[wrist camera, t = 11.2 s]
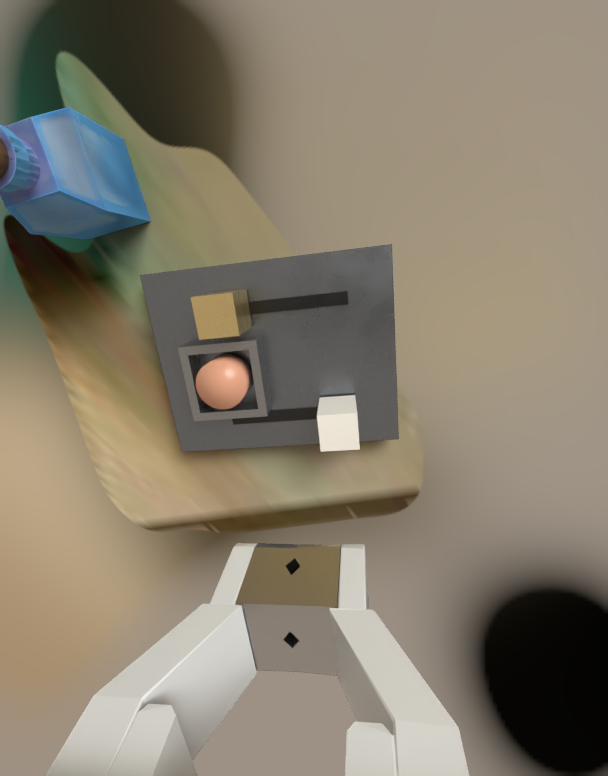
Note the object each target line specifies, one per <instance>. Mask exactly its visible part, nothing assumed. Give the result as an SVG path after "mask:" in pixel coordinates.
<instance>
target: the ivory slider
mask: <svg viewBox="0 0 608 776" xmlns="http://www.w3.org/2000/svg"><path fill="white" fill-rule="evenodd" d="M317 422H318V431H319V441H320V450H321V452H323V451H341V450H359V449H360V445H359V431H358V417H357V407H356V399H355V395H348V396H335V397H321V398H319V405H318V411H317Z"/></svg>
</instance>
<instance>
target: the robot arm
mask: <svg viewBox="0 0 608 776" xmlns="http://www.w3.org/2000/svg"><path fill="white" fill-rule="evenodd" d="M256 670H259V671H290V672H305V673H315V674H324V675H334V676H338V679H339V681H340V683H341V686H342V688H343V690H344V692H345V694H346V697H347V699H348V701H349V703H350V706H351V708H352V710H353V712H354V715H355V717H356V719H357V721H358V722H354V723H353V724H352V726H351V727H350V728H349V729H348V730H347V742H346V773H345V776H469V773H468V768H467V764H466V759H465V754H464V750H463V745H462V741H461V736H460V731H459V728H458V726H457V725H456V724H455V722H454V721H453V719H452V718H451V717H450V715H449V714H448V712H447V711H446V710H445V708H444V707H443V705H442V704H441V703H440V701H439V700H438V699H437V697H436V696H435V694H434V693H433V692H432V690H431V689H430V687H429V686H428V685H427V683H426V682H425V681H424V679H423V678H422V676H421V675H420V673H419V672H418V671H417V669H416V668H415V666H414V665H413V664H412V662H411V661H410V660H409V658H408V657H407V655H406V654H405V653H404V651H403V650H402V649H401V647H400V646H399V644H398V643H397V642H396V640H395V639H394V637H393V636H392V634H391V633H390V632H389V630H388V629H387V627H386V626H385V625H384V624H383V622H382V621H381V619H380V618H379V616H378V615H377V614H376V612H375V611H374V610H369V597H368V583H367V570H366V556H365V547H364V544H342V545H341V544H336V545H335V544H334V545H333V544H330V545H329V544H326V545H325V544H323V545H321V544H319V545H318V544H317V545H314V544H312V545H311V544H305V545H293V544H264V543H263V544H262V543H258V544H247V543H237V544H236V545H235V546H234V547H233V549H232V551H231V554H230V556H229V558H228V561H227V563H226V565H225V568H224V570H223V572H222V575H221V577H220V579H219V582H218V584H217V586H216V589H215V591H214V594H213V596H212V598H211V600H210V603H209V604H202V605H200V606H199V607H198V608H197V609H196V610H195V611H193V612H192V613H191V614H190V615H189V616H187V617H186V618H185V619H184V620H183V621H181V622H180V623H179V624H178V625H177V626H176V627H174V628H173V629H172V630H171V631H170V632H168V633H167V634H166V635H165V636H164V637H163V638H161V639H160V640H159V641H158V642H157V643H156V644H154V645H153V646H152V647H151V648H149V649H148V650H147V651H146V652H145V653H144V654H142V655H141V656H140V657H139V658H138V659H136V660H135V661H134V662H133V663H132V664H130V665H129V666H128V667H127V668H126V669H125V670H124V671H122V672H121V673H120V674H119V675H118V676H116V677H115V678H114V679H113V680H112V681H111V682H109V683H108V684H107V685H106V686H105V687H103V688H102V689H101V690H100V691H99V692H97V693H96V694H95V695H94V696H93V698H92V699H91V701H90V703H89V704H88V706H87V708H86V709H85V711H84V713H83V714H82V716H81V718H80V719H79V721H78V723H77V724H76V726H75V728H74V729H73V731H72V733H71V734H70V736H69V737H68V739H67V741H66V743H65V744H64V746H63V747H62V749H61V751H60V753H59V754H58V756H57V757H56V759H55V761H54V762H53V764H52V766H51V767H50V769H49V771H48V773H47V774H46V776H197V773H196V771H195V768H194V765H193V762H192V761H193V760H194V758H195V757H196V755H197V754H198V753H199V752H200V750H201V749H202V748H203V746H204V745H205V743H206V742H207V741H208V739H209V738H210V736H211V735H212V734H213V733H214V731H215V730H216V728H217V727H218V726H219V724H220V723H221V722H222V720H223V719H224V718H225V716H226V715H227V713H228V712H229V711H230V709H231V708H232V707H233V705H234V704H235V702H236V701H237V700H238V698H239V697H240V696H241V694H242V693H243V691H244V690H245V689H246V687H247V686H248V685H249V683H250V682H251V681H252V679H253V678H254V677H255V675H256V674H257V672H256Z"/></svg>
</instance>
